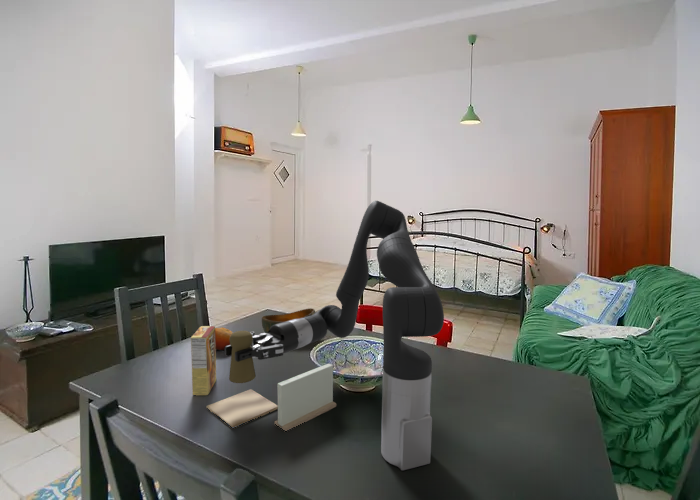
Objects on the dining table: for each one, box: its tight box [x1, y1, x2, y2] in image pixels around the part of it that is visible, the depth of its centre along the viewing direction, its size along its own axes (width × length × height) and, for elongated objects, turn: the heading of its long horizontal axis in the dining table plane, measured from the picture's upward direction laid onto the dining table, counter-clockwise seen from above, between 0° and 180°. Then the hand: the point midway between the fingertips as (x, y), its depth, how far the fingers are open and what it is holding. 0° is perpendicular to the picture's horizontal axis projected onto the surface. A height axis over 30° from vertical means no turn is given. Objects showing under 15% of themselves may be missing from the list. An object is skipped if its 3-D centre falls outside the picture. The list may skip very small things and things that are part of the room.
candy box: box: [190, 325, 217, 396], centre depth 104 cm, size 9×4×15 cm, turn 6°
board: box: [206, 388, 278, 428], centre depth 95 cm, size 12×12×1 cm
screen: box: [274, 363, 337, 432], centre depth 92 cm, size 15×4×10 cm, turn 136°
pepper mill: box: [228, 330, 256, 384], centre depth 93 cm, size 6×6×11 cm
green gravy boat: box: [261, 307, 320, 333], centre depth 142 cm, size 13×20×10 cm, turn 74°
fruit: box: [215, 327, 233, 351], centre depth 132 cm, size 8×8×8 cm
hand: (230, 354), depth 91 cm, fingers closed on pepper mill, 4 cm apart
